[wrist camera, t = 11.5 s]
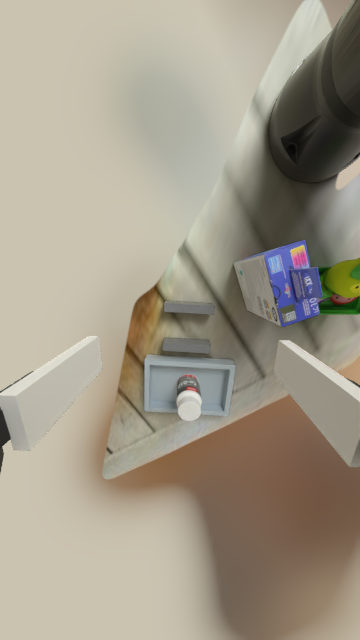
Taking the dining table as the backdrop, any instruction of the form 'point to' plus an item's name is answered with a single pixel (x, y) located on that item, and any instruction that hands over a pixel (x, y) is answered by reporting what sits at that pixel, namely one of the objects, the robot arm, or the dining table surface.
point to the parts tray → (209, 371)
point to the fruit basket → (340, 288)
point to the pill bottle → (188, 397)
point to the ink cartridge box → (280, 284)
